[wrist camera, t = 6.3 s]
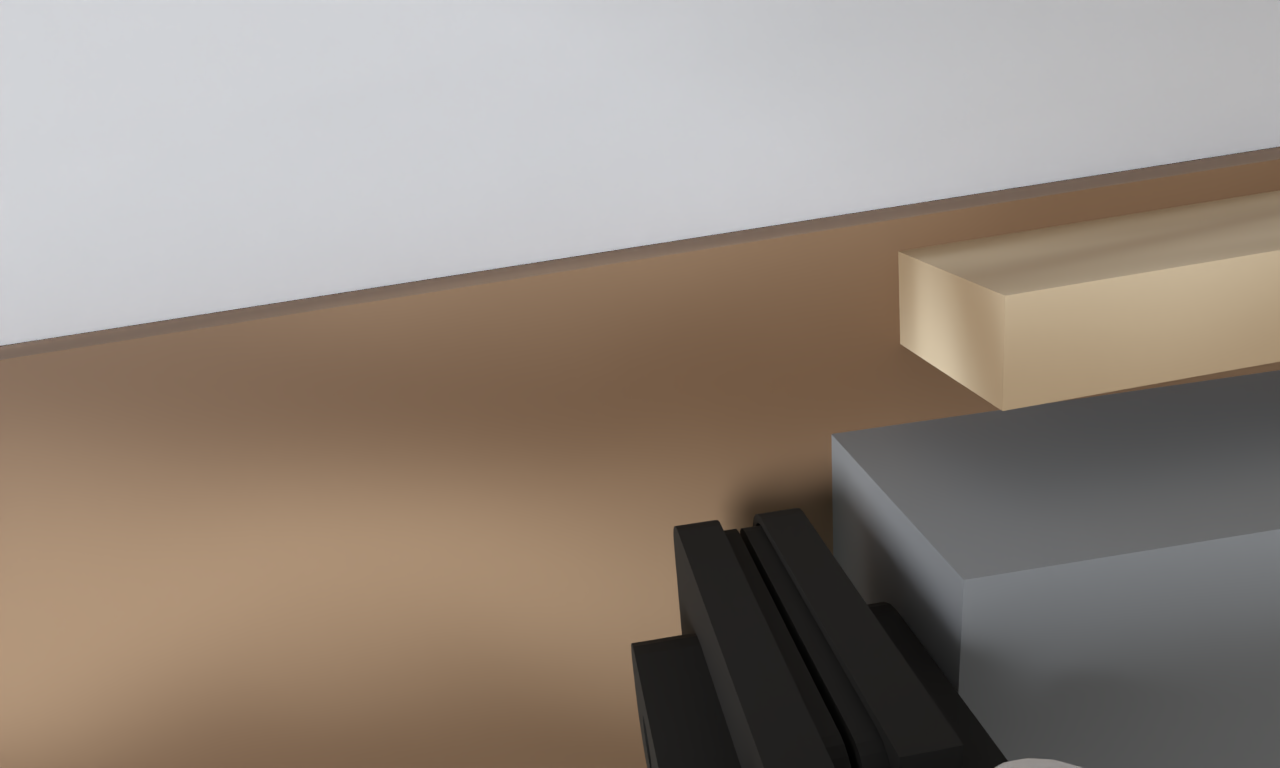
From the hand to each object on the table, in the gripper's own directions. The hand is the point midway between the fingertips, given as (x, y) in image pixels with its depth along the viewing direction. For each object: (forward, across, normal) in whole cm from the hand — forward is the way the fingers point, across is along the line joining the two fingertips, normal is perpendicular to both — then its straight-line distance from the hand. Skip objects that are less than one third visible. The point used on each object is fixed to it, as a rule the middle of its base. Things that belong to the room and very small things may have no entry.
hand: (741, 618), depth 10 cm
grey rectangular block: (+1, -6, 0) cm, 6 cm away
